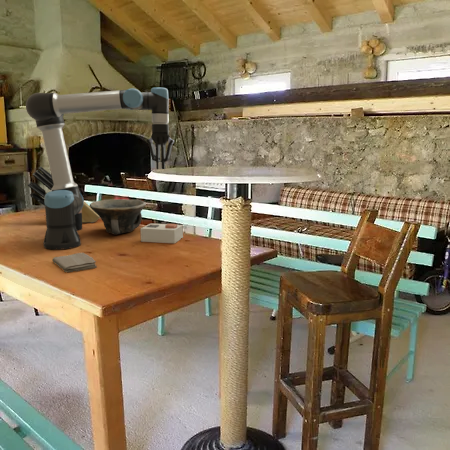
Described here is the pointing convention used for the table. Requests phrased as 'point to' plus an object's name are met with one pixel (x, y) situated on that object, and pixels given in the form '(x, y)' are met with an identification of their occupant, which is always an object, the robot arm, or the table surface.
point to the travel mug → (78, 220)
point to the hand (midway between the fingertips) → (161, 176)
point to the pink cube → (171, 226)
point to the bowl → (119, 214)
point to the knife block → (47, 180)
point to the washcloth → (75, 262)
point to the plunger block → (161, 234)
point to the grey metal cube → (152, 225)
